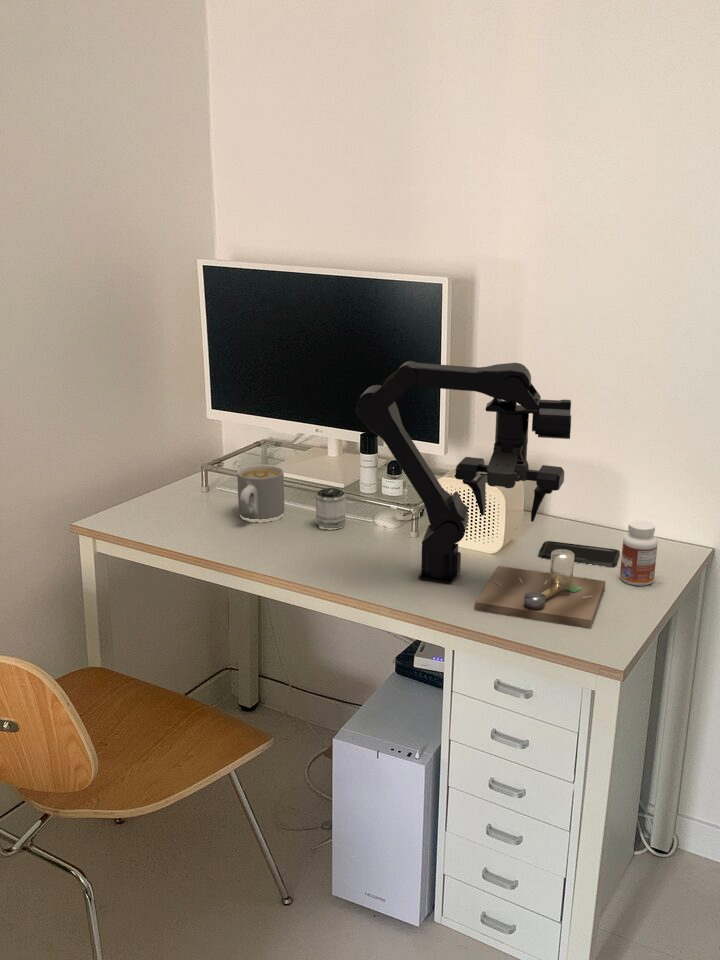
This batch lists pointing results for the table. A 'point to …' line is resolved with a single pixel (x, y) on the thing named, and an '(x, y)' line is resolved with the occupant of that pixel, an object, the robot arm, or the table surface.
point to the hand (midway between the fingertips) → (507, 517)
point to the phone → (583, 553)
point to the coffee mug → (260, 491)
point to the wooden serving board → (560, 607)
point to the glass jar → (330, 508)
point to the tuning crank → (554, 578)
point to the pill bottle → (639, 553)
